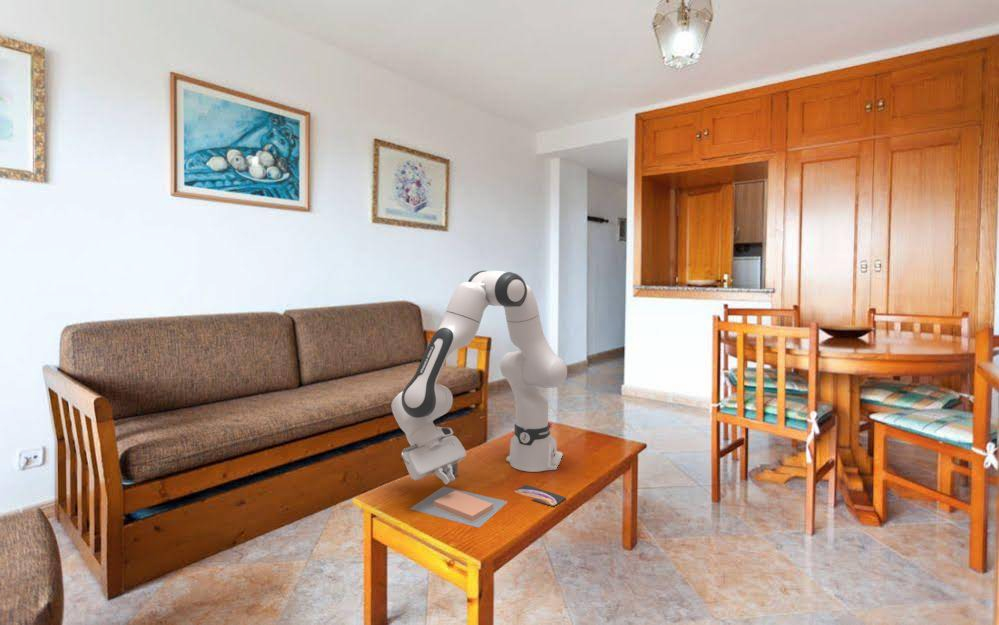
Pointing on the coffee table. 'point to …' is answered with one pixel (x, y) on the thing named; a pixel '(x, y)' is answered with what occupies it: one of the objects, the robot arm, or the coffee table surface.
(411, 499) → the coffee table surface
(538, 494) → the smartphone
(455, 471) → the dice cube
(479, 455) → the coffee table surface
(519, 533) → the coffee table surface
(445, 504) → the tile
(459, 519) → the mat
